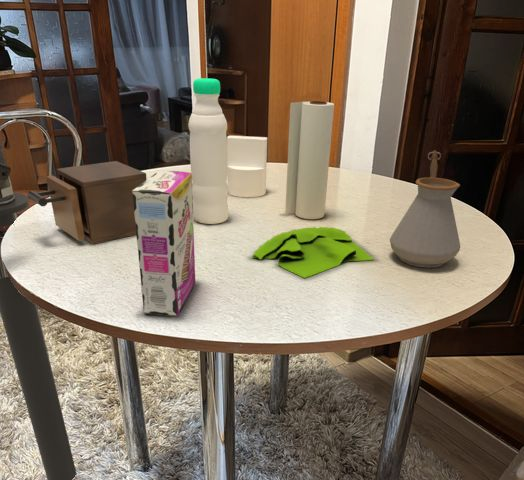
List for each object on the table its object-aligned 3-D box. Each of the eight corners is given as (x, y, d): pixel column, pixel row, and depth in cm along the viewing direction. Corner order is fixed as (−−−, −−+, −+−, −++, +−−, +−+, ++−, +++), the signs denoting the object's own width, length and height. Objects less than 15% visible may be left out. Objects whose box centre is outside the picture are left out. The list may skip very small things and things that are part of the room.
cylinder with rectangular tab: (268, 188, 124) (269, 135, 117) (263, 198, 116) (264, 142, 110) (231, 185, 124) (231, 133, 118) (224, 195, 117) (223, 140, 110)
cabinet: (92, 244, 89) (82, 182, 84) (66, 226, 97) (56, 168, 91) (151, 231, 96) (146, 173, 90) (123, 215, 103) (116, 160, 98)
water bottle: (235, 220, 102) (235, 79, 89) (207, 227, 98) (202, 81, 85) (213, 211, 107) (209, 76, 93) (186, 218, 102) (178, 78, 89)
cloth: (347, 229, 99) (349, 217, 98) (386, 275, 81) (388, 261, 80) (243, 232, 97) (243, 219, 95) (259, 280, 78) (259, 265, 77)
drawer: (52, 246, 86) (41, 193, 81) (30, 229, 92) (19, 179, 88) (133, 229, 94) (128, 180, 89) (108, 214, 100) (102, 168, 96)
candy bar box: (179, 317, 68) (171, 192, 59) (143, 315, 68) (129, 190, 59) (198, 282, 77) (193, 170, 68) (165, 280, 77) (156, 168, 69)
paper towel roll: (329, 215, 107) (340, 102, 95) (314, 222, 103) (323, 105, 91) (300, 208, 110) (308, 98, 99) (284, 214, 106) (290, 101, 95)
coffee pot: (459, 276, 81) (483, 180, 73) (385, 267, 84) (401, 173, 76) (450, 233, 99) (468, 151, 91) (390, 227, 101) (402, 147, 93)
